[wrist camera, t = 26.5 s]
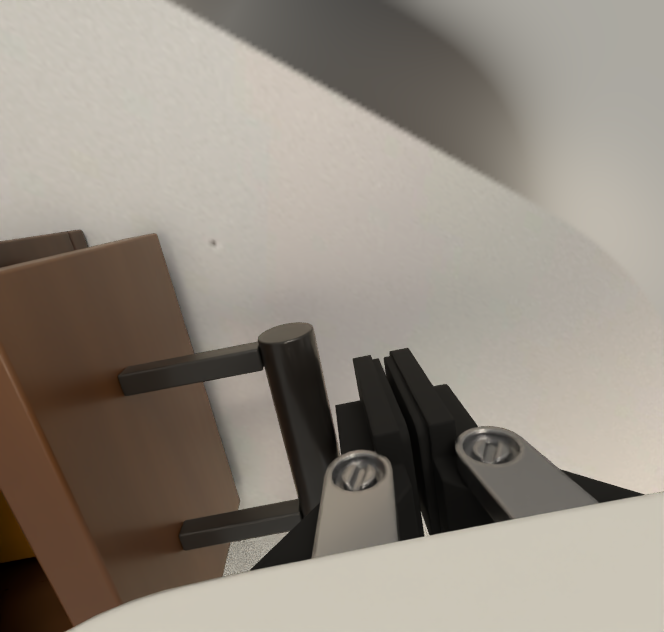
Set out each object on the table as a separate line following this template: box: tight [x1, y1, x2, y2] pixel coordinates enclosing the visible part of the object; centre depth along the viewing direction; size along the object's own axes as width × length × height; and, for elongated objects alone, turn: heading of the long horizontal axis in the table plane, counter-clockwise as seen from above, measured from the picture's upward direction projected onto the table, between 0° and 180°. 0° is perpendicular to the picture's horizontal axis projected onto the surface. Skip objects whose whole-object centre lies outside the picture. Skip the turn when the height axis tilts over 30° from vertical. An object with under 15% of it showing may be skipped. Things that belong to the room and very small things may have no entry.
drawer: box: [0, 233, 340, 632], centre depth 12 cm, size 18×12×8 cm, turn 100°
